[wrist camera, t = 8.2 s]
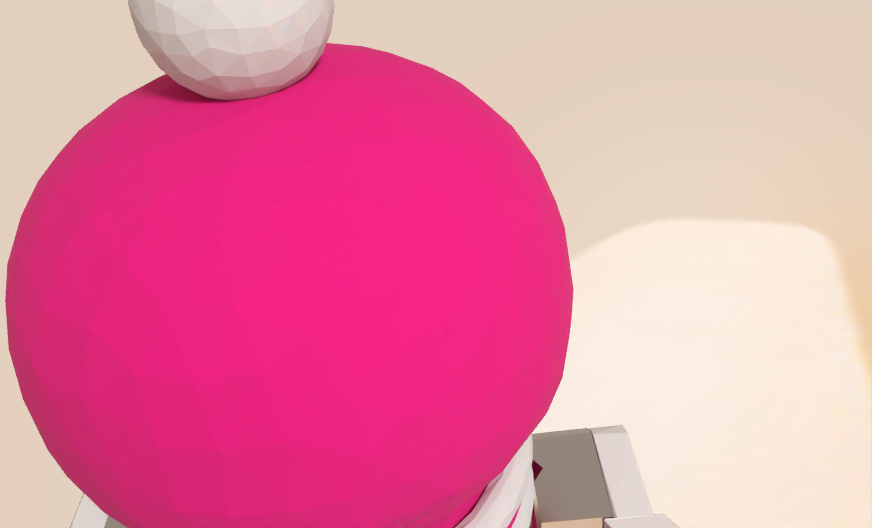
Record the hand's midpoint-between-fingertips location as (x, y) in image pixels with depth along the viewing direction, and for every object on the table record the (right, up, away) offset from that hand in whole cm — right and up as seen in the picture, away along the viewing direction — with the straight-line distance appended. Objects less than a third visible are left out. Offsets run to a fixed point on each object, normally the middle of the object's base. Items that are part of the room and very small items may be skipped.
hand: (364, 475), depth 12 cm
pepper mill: (+1, -10, +6) cm, 12 cm away
